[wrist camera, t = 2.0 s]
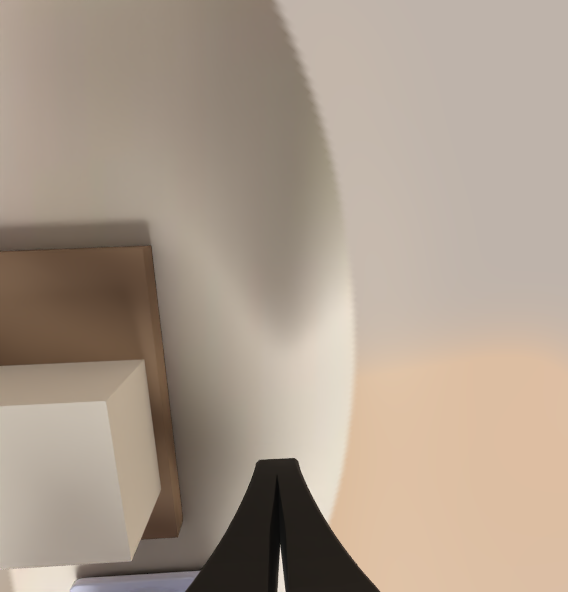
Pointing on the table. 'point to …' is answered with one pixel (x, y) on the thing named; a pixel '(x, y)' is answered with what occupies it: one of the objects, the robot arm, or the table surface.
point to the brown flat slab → (93, 333)
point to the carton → (75, 463)
